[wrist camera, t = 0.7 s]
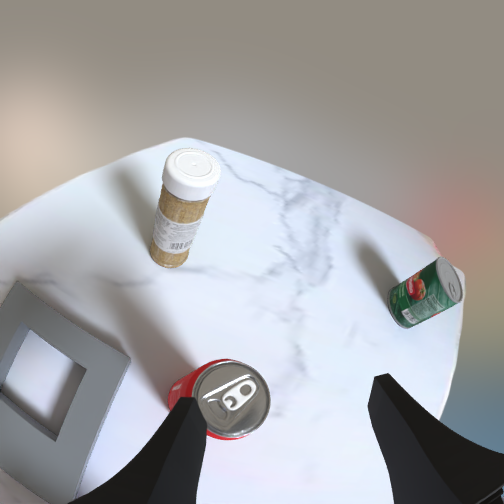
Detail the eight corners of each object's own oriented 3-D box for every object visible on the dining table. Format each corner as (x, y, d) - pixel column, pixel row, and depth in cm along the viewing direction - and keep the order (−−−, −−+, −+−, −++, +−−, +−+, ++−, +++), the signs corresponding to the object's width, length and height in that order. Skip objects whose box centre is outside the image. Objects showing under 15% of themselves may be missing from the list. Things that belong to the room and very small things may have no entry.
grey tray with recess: (72, 505, 12) (67, 513, 10) (-42, 414, 10) (-53, 413, 8) (131, 361, 23) (130, 357, 21) (18, 284, 21) (10, 274, 19)
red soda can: (156, 393, 22) (168, 387, 13) (198, 367, 25) (239, 340, 16) (189, 436, 21) (226, 458, 12) (229, 407, 24) (290, 404, 15)
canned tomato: (385, 282, 43) (432, 249, 35) (411, 293, 45) (456, 265, 36) (389, 324, 38) (444, 295, 30) (417, 332, 40) (466, 307, 32)
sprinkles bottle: (186, 236, 33) (219, 150, 22) (189, 270, 30) (225, 188, 20) (149, 234, 31) (166, 142, 20) (149, 269, 29) (164, 181, 18)
